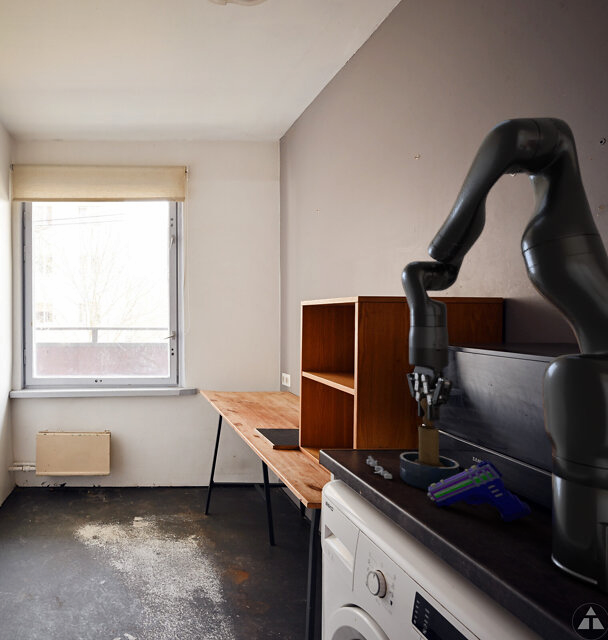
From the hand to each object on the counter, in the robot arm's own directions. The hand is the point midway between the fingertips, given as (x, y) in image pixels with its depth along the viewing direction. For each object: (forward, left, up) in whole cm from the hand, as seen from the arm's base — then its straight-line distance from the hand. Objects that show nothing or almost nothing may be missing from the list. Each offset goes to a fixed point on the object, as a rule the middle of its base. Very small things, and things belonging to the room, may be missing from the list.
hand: (428, 418), depth 97 cm
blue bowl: (0, 0, -15) cm, 15 cm away
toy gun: (-15, 0, -15) cm, 21 cm away
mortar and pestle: (0, 0, -13) cm, 13 cm away
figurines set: (+8, +8, -15) cm, 19 cm away
